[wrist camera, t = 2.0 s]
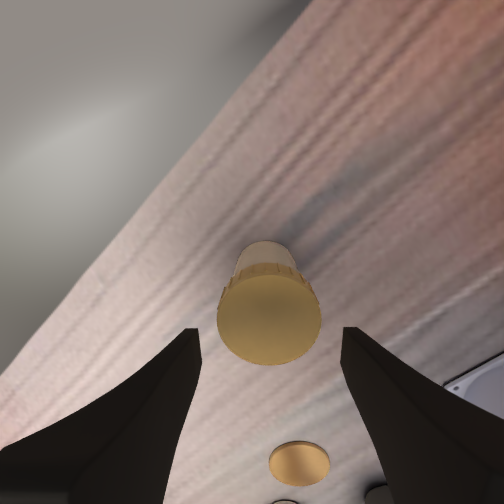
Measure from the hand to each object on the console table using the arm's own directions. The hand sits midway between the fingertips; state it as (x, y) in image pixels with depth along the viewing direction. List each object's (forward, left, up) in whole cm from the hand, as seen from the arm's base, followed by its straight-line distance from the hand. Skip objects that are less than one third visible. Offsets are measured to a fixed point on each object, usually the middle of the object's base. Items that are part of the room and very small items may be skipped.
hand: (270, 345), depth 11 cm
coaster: (+13, +21, -10) cm, 27 cm away
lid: (0, 0, -2) cm, 2 cm away
